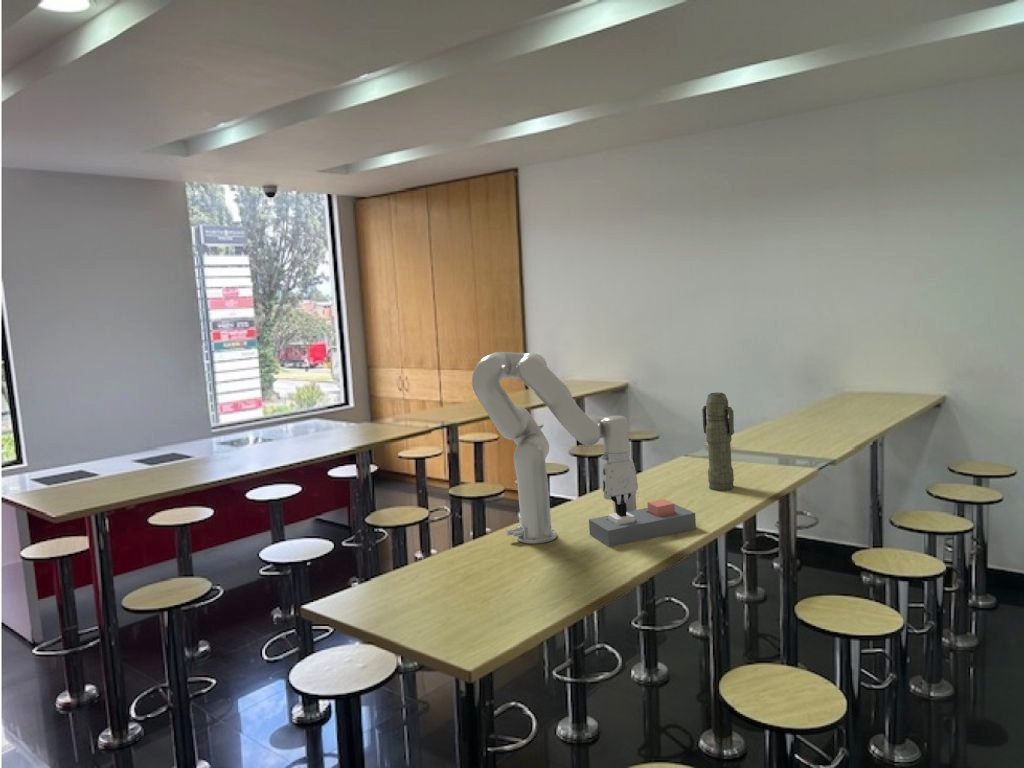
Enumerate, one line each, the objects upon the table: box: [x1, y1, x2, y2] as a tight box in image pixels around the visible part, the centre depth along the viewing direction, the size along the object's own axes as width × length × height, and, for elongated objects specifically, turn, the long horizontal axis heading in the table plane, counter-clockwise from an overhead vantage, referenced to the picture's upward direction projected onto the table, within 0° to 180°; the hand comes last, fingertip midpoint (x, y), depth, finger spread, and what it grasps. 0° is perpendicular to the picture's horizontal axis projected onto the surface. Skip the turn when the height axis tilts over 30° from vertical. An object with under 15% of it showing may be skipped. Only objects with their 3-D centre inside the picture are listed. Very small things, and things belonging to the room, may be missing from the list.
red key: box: [647, 498, 675, 517], centre depth 224 cm, size 6×6×4 cm
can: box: [612, 493, 638, 513], centre depth 239 cm, size 8×8×12 cm
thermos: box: [701, 392, 735, 492], centre depth 262 cm, size 9×12×35 cm
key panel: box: [588, 503, 697, 548], centre depth 223 cm, size 30×13×5 cm, turn 109°
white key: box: [607, 512, 635, 525], centre depth 220 cm, size 6×6×4 cm
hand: (621, 515), depth 220 cm, fingers closed
